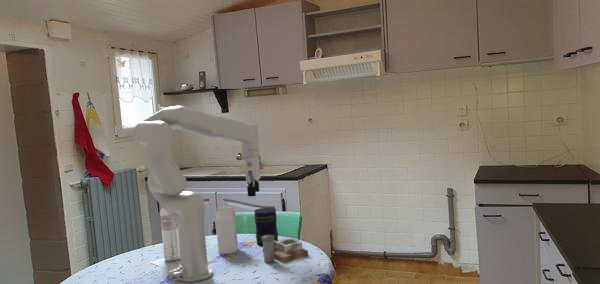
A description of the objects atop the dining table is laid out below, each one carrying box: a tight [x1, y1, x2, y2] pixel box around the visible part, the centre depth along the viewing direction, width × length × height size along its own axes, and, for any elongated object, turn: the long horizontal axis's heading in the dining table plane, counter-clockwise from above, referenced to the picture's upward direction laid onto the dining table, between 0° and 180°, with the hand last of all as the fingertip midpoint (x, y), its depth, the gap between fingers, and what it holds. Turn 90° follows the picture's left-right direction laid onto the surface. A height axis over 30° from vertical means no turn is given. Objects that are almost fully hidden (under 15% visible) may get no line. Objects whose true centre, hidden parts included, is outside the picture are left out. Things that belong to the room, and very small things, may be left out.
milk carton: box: [215, 206, 239, 255], centre depth 189 cm, size 7×7×19 cm
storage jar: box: [253, 207, 279, 247], centre depth 197 cm, size 10×10×15 cm
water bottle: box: [159, 206, 181, 262], centre depth 183 cm, size 7×7×25 cm
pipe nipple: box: [262, 235, 276, 264], centre depth 173 cm, size 5×5×10 cm
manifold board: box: [262, 237, 309, 264], centre depth 180 cm, size 12×16×5 cm
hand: (253, 193), depth 185 cm, fingers open, 9 cm apart
